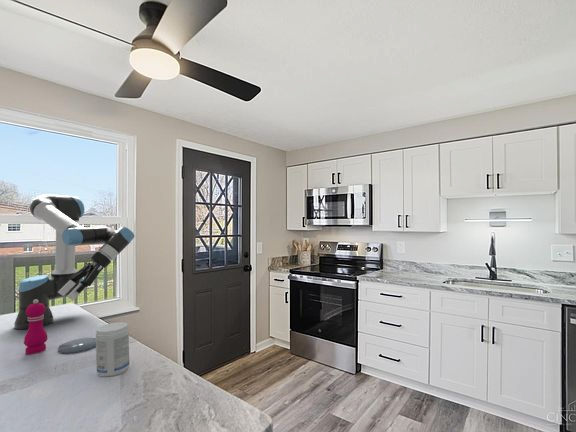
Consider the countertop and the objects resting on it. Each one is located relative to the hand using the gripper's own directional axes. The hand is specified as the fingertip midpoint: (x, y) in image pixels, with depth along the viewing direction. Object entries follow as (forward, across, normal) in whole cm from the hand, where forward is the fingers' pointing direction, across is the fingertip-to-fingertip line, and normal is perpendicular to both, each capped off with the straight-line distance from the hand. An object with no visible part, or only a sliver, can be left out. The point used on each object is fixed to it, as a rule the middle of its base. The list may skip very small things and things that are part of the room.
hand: (64, 296), depth 130 cm
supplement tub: (+12, -42, -16) cm, 46 cm away
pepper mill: (+21, +1, -7) cm, 22 cm away
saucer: (+12, -8, -16) cm, 21 cm away
